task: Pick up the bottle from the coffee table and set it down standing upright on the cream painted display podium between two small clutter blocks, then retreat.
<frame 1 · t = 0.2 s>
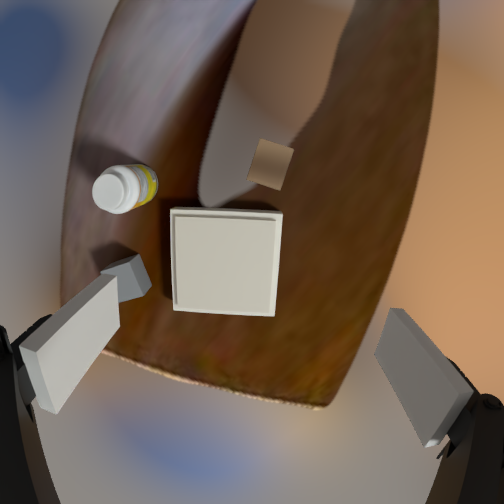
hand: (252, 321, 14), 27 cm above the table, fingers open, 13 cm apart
supplement bottle: (141, 184, 39), on the table
podium: (225, 259, 41), on the table
walnut block: (268, 164, 38), on the table
grey matte cube: (131, 273, 42), on the table
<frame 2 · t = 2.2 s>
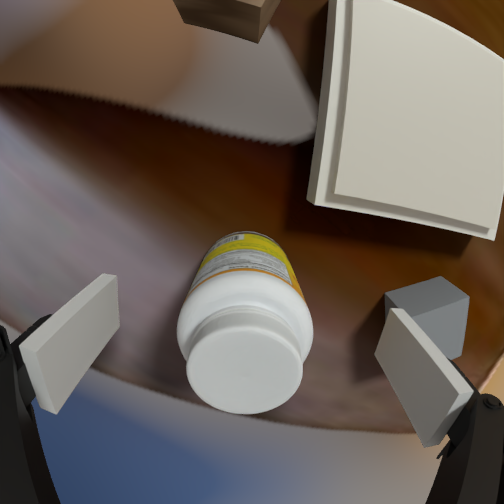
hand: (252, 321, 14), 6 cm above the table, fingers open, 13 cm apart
supplement bottle: (246, 270, 19), on the table
podium: (419, 116, 16), on the table
walnut block: (233, 9, 14), on the table
grey matte cube: (413, 312, 21), on the table
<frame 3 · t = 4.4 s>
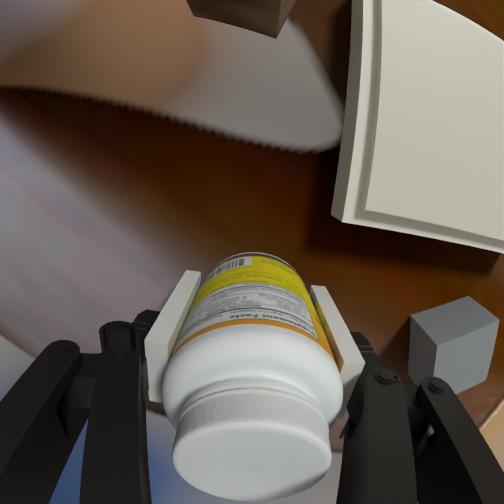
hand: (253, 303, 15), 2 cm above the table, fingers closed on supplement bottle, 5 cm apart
supplement bottle: (253, 298, 16), point 1 cm above the table, touching gripper
podium: (451, 122, 14), on the table
walnut block: (247, 1, 13), on the table
grey matte cube: (438, 334, 18), on the table
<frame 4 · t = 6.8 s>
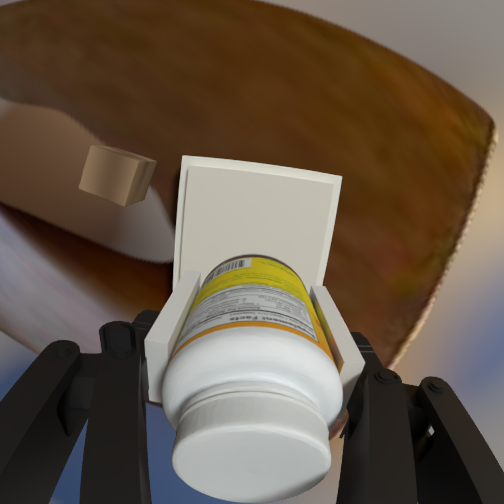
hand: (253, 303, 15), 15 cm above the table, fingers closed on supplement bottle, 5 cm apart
supplement bottle: (253, 299, 16), point 14 cm above the table, touching gripper
podium: (252, 236, 29), on the table
walnut block: (129, 172, 28), on the table
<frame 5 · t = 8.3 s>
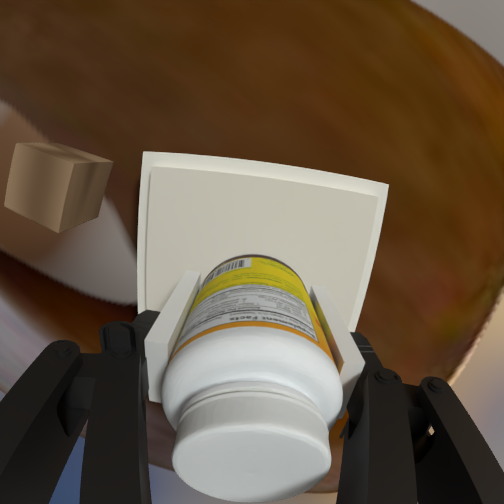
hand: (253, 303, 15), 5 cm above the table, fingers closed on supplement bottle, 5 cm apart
supplement bottle: (253, 299, 16), point 4 cm above the table, touching gripper
podium: (252, 271, 20), on the table
walnut block: (77, 179, 18), on the table
when the fingers open (4 cm above the table, at t = 9.3 s): supplement bottle stays where it is, resting on podium.
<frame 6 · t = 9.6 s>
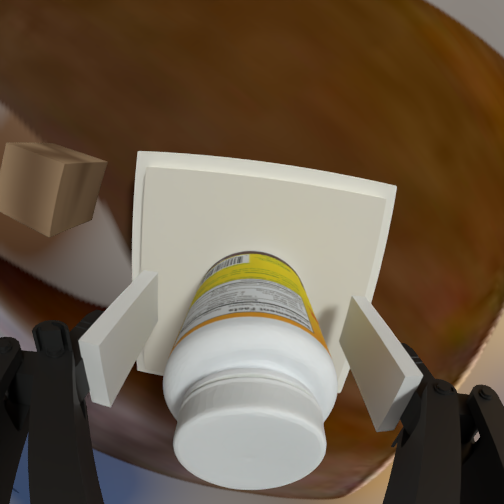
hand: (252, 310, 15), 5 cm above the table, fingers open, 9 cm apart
supplement bottle: (252, 295, 16), point 3 cm above the table, touching podium
podium: (253, 277, 19), on the table
walnut block: (71, 180, 17), on the table
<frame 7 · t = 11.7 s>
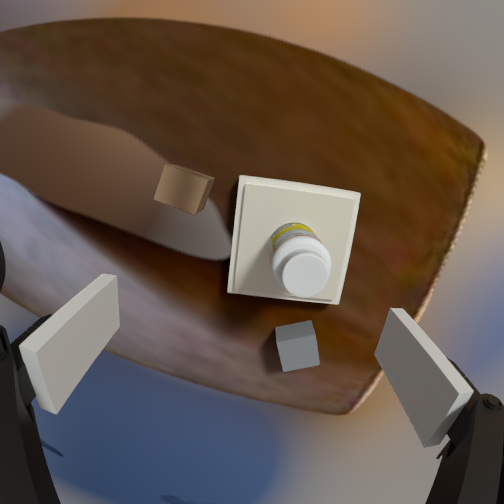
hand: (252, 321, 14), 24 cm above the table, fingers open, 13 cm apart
supplement bottle: (293, 244, 35), point 3 cm above the table, touching podium
podium: (291, 239, 37), on the table
walnut block: (190, 186, 36), on the table
grey matte cube: (296, 338, 41), on the table
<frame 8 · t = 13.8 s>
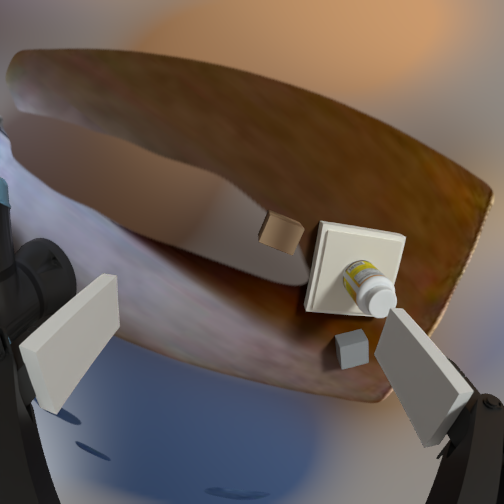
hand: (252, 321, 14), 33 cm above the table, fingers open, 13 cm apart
supplement bottle: (358, 275, 45), point 3 cm above the table, touching podium
podium: (353, 269, 47), on the table
walnut block: (278, 228, 46), on the table
grey matte cube: (348, 343, 51), on the table
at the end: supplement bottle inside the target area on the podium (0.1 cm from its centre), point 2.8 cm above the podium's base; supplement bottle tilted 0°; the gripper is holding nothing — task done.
